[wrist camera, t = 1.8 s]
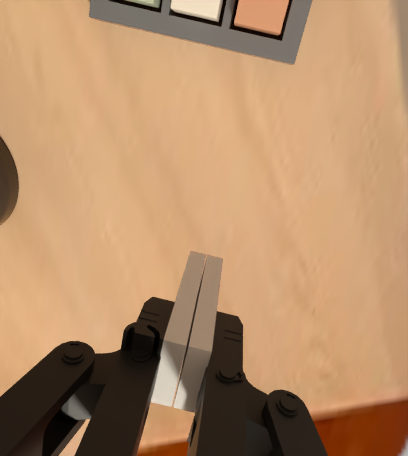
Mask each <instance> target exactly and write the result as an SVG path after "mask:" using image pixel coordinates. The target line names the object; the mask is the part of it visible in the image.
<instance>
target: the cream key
mask: <svg viewBox="0 0 408 456" xmlns="http://www.w3.org/2000/svg"><path fill="white" fill-rule="evenodd" d="M222 3H223V0H172V1H171V9H172V10H173V11H175V12H177V13H181V14H185V15H190V16H194V17H198V18H203V19H207V20H211V21H216V22H219V17H220V12H221V7H222Z"/></svg>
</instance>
